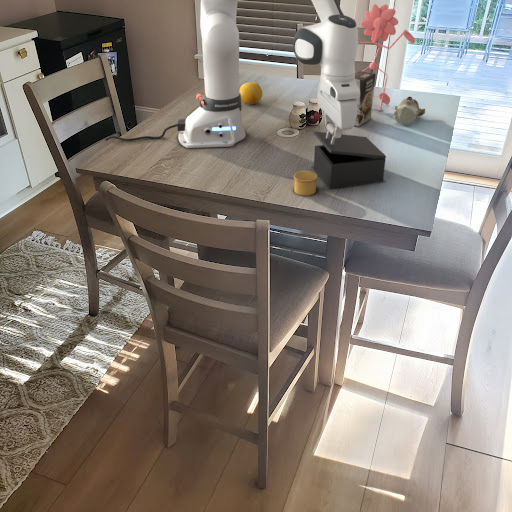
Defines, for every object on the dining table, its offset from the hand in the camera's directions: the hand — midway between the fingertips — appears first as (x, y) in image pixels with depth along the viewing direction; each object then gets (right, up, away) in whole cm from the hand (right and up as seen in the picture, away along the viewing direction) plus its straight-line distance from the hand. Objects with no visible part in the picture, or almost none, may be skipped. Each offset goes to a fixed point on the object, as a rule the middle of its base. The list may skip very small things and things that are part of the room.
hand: (332, 132), depth 154 cm
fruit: (-23, +24, +59) cm, 68 cm away
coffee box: (+15, +13, +43) cm, 47 cm away
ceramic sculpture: (+32, +14, +43) cm, 55 cm away
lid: (+5, -3, +4) cm, 7 cm away
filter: (-8, -16, +1) cm, 18 cm away
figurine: (+23, +24, +57) cm, 66 cm away
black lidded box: (+5, -10, +9) cm, 15 cm away
